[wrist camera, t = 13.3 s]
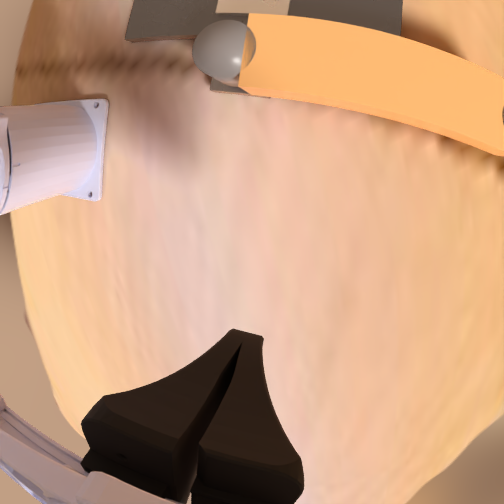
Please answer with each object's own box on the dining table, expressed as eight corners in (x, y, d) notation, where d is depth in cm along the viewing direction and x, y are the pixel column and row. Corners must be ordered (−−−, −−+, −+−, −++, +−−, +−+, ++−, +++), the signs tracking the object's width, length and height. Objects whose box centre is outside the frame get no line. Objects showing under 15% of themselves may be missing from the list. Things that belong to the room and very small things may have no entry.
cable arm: (207, 91, 16) (186, 84, 13) (216, 31, 15) (198, 14, 12) (502, 158, 13) (528, 163, 11) (508, 98, 12) (534, 95, 9)
